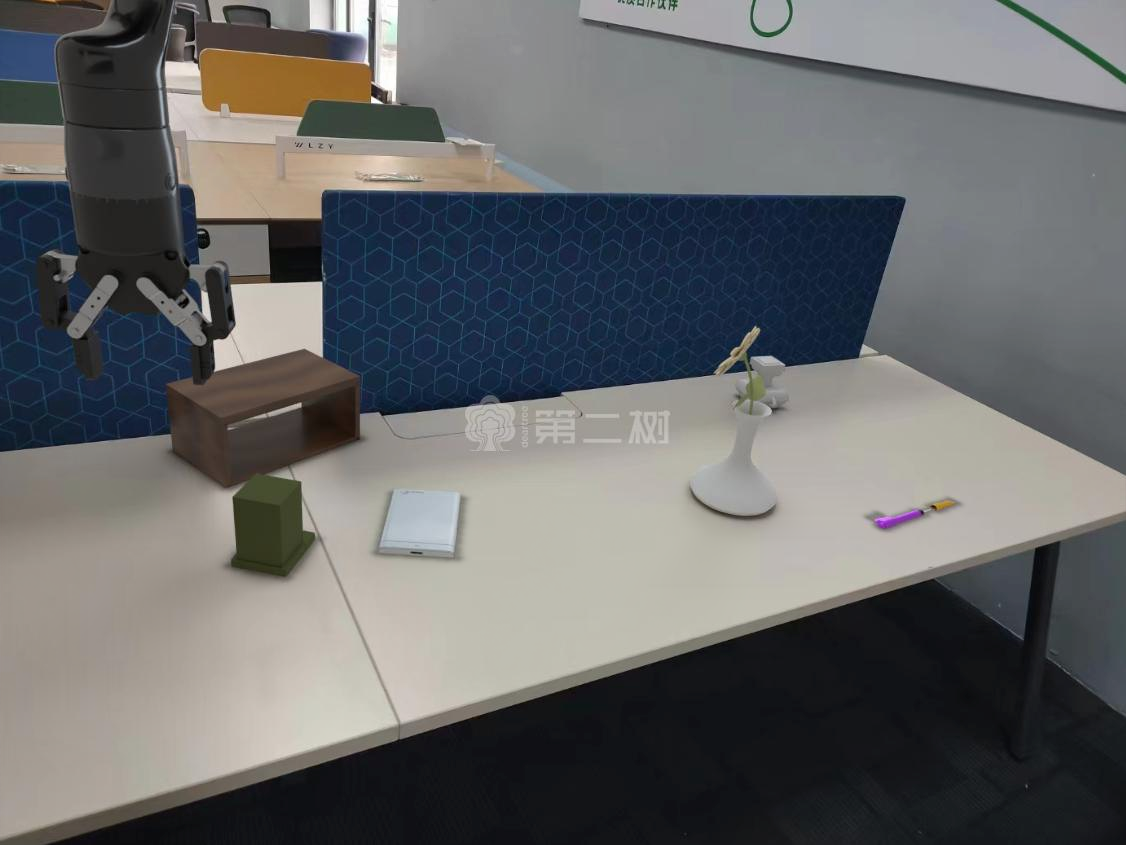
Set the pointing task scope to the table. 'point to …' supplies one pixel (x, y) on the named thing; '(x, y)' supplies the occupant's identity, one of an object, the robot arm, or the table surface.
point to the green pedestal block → (269, 525)
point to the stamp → (766, 381)
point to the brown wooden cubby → (259, 391)
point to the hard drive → (421, 523)
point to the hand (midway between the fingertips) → (148, 379)
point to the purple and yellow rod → (908, 515)
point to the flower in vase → (739, 453)
